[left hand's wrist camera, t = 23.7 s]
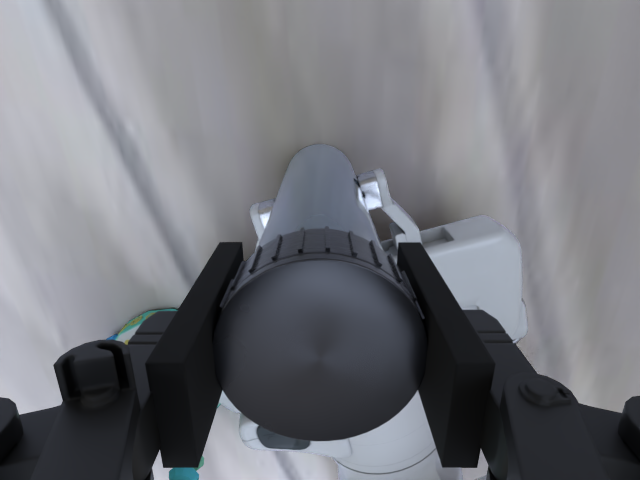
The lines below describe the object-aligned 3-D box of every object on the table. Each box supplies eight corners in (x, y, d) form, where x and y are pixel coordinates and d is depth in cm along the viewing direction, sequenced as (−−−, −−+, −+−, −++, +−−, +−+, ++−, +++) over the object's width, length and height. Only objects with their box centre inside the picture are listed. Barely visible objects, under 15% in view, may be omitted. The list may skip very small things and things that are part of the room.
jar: (353, 210, 30) (404, 407, 12) (287, 211, 30) (237, 408, 12) (354, 143, 29) (415, 253, 10) (284, 144, 29) (222, 255, 10)
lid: (361, 411, 14) (369, 468, 12) (200, 351, 13) (178, 402, 11) (449, 271, 12) (475, 310, 10) (268, 192, 11) (256, 217, 9)
